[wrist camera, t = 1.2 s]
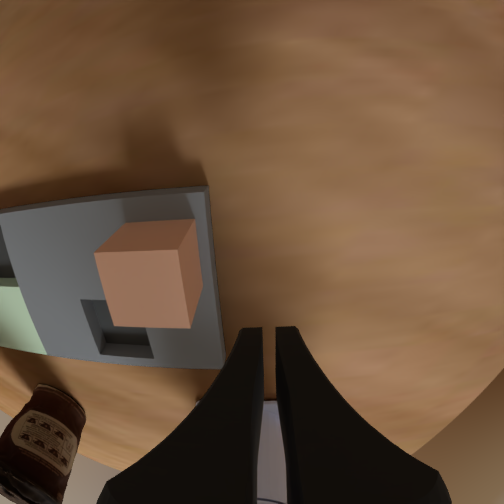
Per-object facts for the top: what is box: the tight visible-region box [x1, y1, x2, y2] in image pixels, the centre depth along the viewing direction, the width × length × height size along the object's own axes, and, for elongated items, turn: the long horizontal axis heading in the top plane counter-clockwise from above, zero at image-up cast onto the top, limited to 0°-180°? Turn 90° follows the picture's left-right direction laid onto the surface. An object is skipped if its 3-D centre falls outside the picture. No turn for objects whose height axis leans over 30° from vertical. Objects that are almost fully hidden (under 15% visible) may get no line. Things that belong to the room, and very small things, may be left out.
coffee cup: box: [0, 384, 86, 504], centre depth 21 cm, size 9×8×13 cm
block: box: [94, 219, 203, 328], centre depth 16 cm, size 4×4×4 cm
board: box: [0, 186, 226, 369], centre depth 19 cm, size 12×22×3 cm, turn 93°
